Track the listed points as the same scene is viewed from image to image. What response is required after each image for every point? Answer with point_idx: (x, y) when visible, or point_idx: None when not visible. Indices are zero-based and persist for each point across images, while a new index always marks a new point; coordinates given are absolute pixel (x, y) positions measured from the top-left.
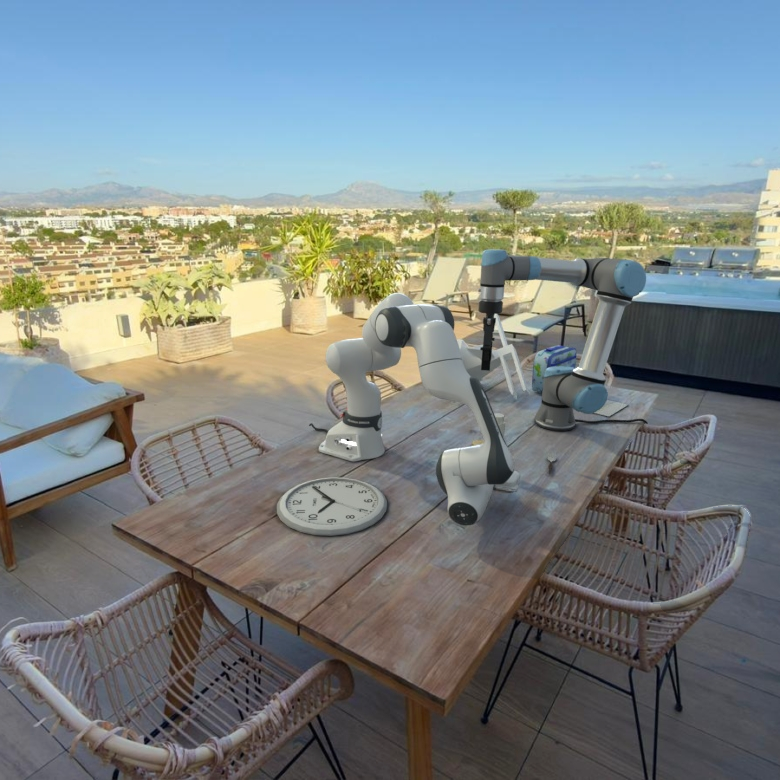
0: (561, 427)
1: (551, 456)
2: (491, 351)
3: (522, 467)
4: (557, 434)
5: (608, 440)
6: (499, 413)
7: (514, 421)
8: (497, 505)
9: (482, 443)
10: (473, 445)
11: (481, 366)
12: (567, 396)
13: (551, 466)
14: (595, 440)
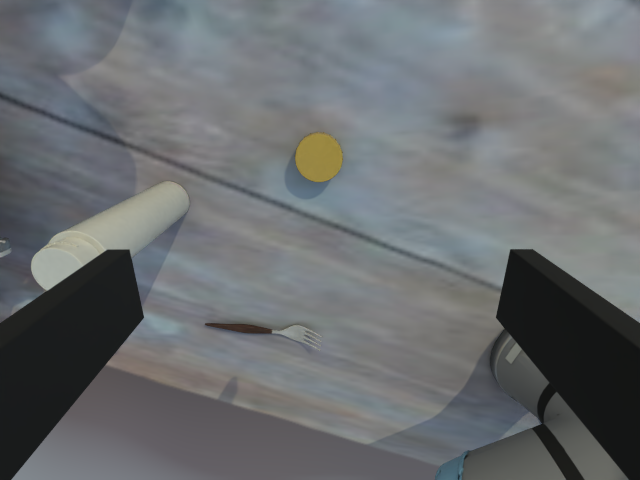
0: (494, 371)
1: (305, 334)
2: (549, 378)
3: (234, 269)
4: (468, 354)
5: (443, 444)
6: None
7: (565, 254)
8: (11, 214)
9: (317, 168)
10: (302, 140)
11: (87, 266)
12: (494, 470)
13: (244, 331)
14: (439, 422)
